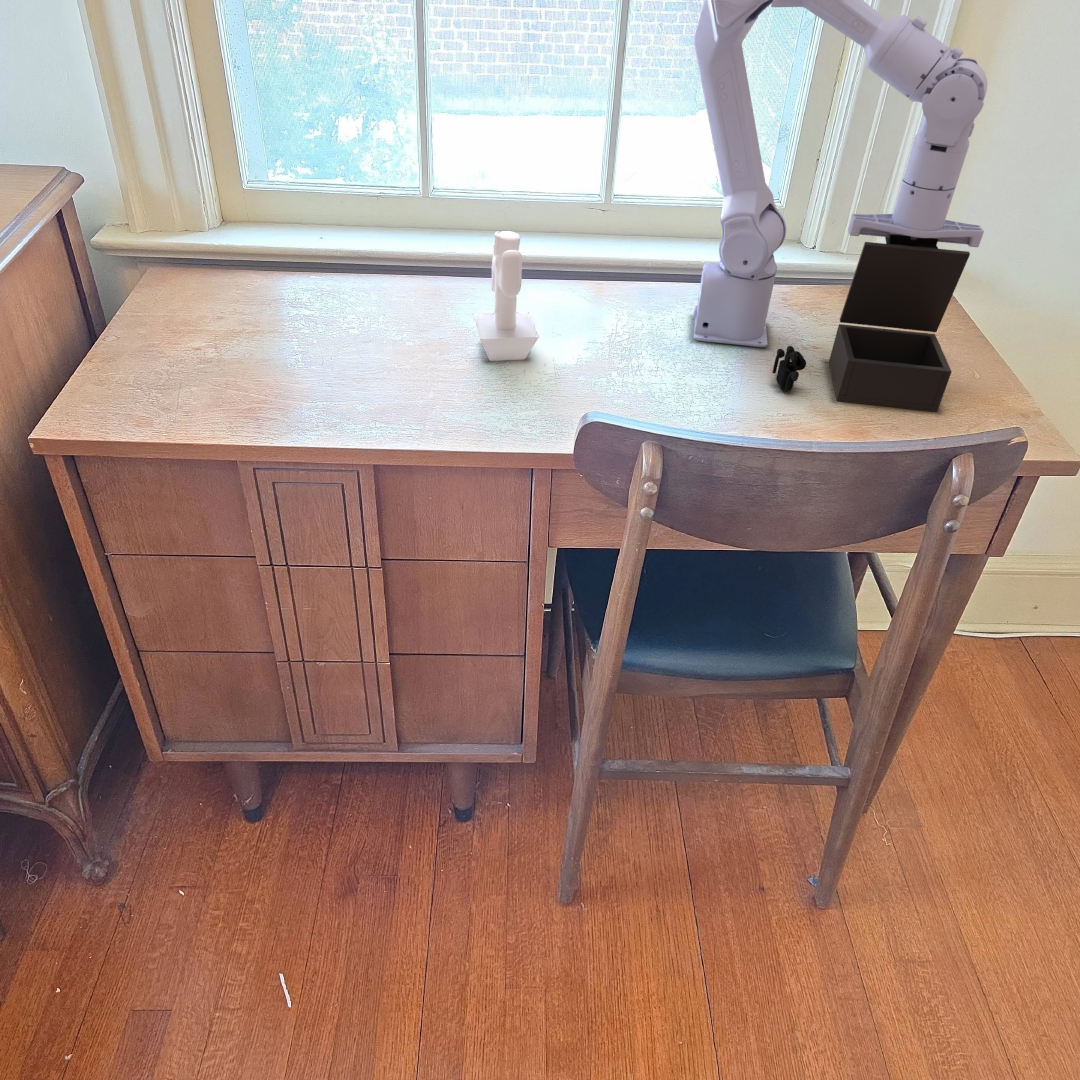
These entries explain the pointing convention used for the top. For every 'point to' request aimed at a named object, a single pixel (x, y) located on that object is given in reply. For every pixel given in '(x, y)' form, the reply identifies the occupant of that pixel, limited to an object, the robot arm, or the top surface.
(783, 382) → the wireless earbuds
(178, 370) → the top surface
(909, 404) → the case
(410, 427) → the top surface
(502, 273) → the figurine
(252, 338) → the top surface
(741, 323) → the robot arm
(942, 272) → the case lid
